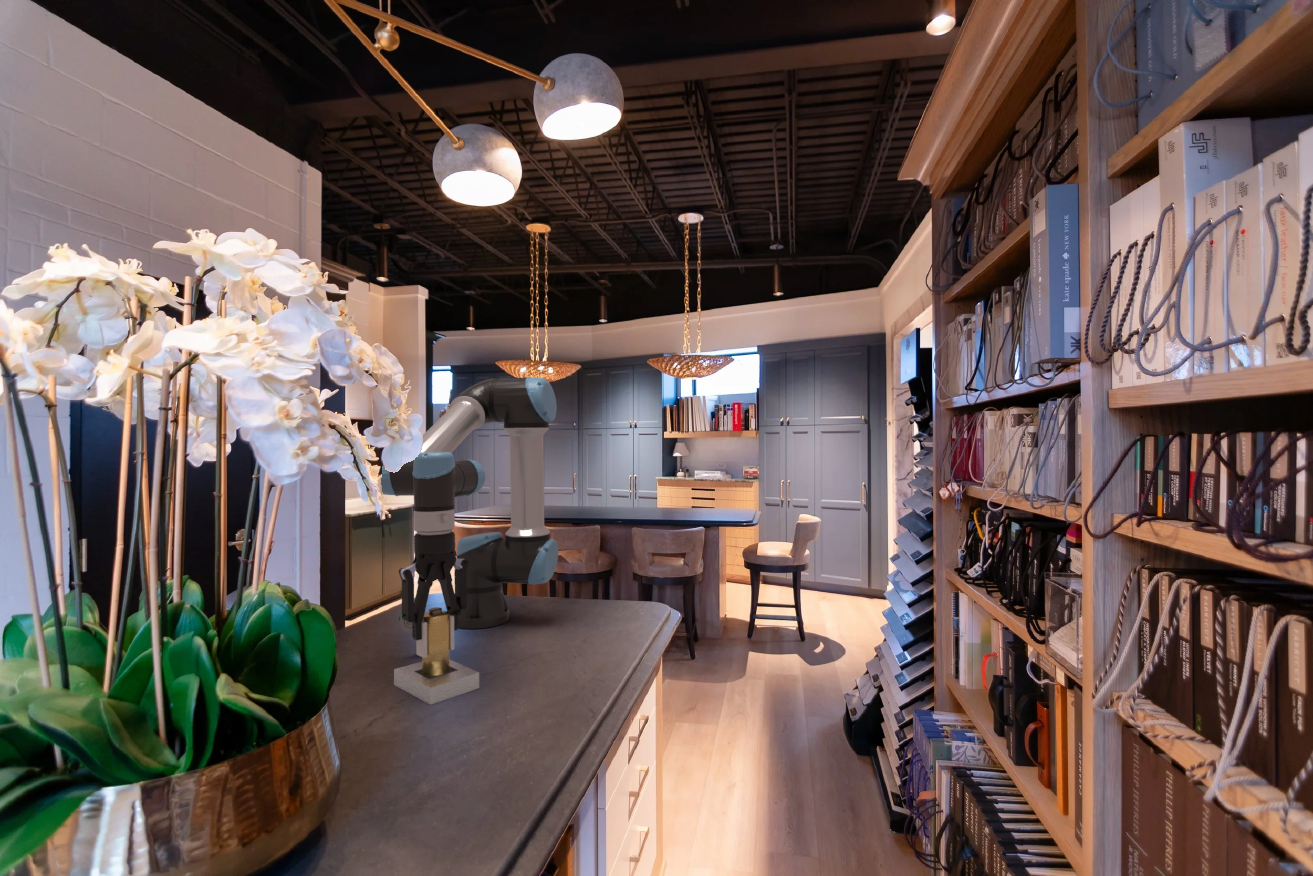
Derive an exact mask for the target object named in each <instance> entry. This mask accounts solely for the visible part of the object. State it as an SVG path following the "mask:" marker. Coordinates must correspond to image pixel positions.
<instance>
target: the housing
mask: <svg viewBox="0 0 1313 876" xmlns="http://www.w3.org/2000/svg"><path fill="white" fill-rule="evenodd" d="M393 686H395V687H396V688H399V689H400V690H402V691H404V692H406V693H408V694H410V695H412V696H413V697H415V698H417V699H419V700H421V701H422V702H425V703H426V704H427V705H431V706H432V705H435V704H437V703H440V702H443V701H446V700H449V699H453V698H455V697H457V696H461V695H464V694H466V693H470V692H473V691H475V690H478V689H480V672H479V671H477V670H475V669H473V668H471V667H467V666H465V665H464V664H461V663H459V662H456V661H454V660H452V659H450V658H449V671H448V672H446V673H444V674H441V675H436V676H427V675H424V674H422V660H421V661H419V662H415V663H412V664H411V663H410V664H409V665H405V666H401V667H396V668H394V669H393Z"/></svg>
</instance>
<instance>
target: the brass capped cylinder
mask: <svg viewBox="0 0 1313 876" xmlns="http://www.w3.org/2000/svg"><path fill="white" fill-rule="evenodd" d="M423 621H424V622H427V657H425V658H423V657H421V661H422V674H424V675H427V676H436V675H441V674H444V673H446V672H448V671H449V659H450V649H449V612H447V610H443V607H438V606H437V607H436V606H435V607H430V608H429V609H428V611H427V612H426V611H425V614H424V618H423Z"/></svg>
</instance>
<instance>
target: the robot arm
mask: <svg viewBox="0 0 1313 876" xmlns="http://www.w3.org/2000/svg"><path fill="white" fill-rule="evenodd" d="M557 405H558V404H557V399H556V395H555V392H554V389H553V387H552V385H551V384H550V382H549V380H547V379H546V378H543V377H533V376H529V377H528V376H525V377H507V378H506V377H505V378H498V377H497V378H489V379H485V380H482V381H479V382H477V383H476V384H474V385H471V386H470V387H468V388H466V389H465V390H464V391H462V392H461V393H459V394H458V395H457V396H456V397H455V398H454V399H453V400H452V401H451V402H450V404H449V409H448V410H447V411H446V412H445V413H444V414H443V415H442V416H441V417H439V419H438V420H437V421H436V422H434V423H433V425H432V426H431V427H429V428H428V430H427V431H425V433H423V434H422V435H423V446H422V450H421V452H420V454H419V455H418V457H416V458H415V460H413V461H411V462H408V463H406V464H404V465H403V466H402V467H401V469H400V470H399V471H398V472H395V473H393V472H389V471H387V470H385V468H384V467H383V466H382V478H381V485H382V492H383V494H382V495H385V496H395V497H399V496H403V497H404V496H413V531H414V532H416V533H415V534H414V535H413V553H414V558H413V561H412V564H411V565H409V566H407V567H405V568H403V567H401V568H400V569H399V570H398V575H399V576H400V580H401V614H402V619H403V620H405V621H408V622H412V633H411V637H412V639H413V640H414V641H415V642H416V648H415V649H416V656H418V657H421V658H422V657H423V658H425V657H427V622H424V621H423V618H424V614H425V613H426V609H427V604H428V599H429V595H430V590H431V588H432V586H433V583H434V582H435V581H438V582H439V584H440V589H441V593H442V596H443V601H444V604H445V609H446V611H447V612H449V651H452V650H455V631H458V628H459V629H466V630H467V629H469V630H470V629H473V630H475V629H485V628H491V627H496V626H500V625H503V624H505V623H507V622H508V621H509V620H510V610H509V607H508V603H507V600H506V598H505V595H504V591H503V584H527V585H531V586H532V585H543V584H546V583H548V582H549V581H550V580H551V579H552V577H553V576H554V573H555V571H556V568H557V565H558V559H559V546H558V545H559V543H558V542H557V540H555V539H553V538H551V531H550V530H549V528H547V527H546V525H545V485H544V483H545V481H544V480H545V477H544V476H545V475H544V469H545V468H544V435H545V433H547V431H548V430H550V429H549V428H550V423H551V422H554V421H555V419H556V417H557V412H558V411H557V410H558V408H557ZM489 423H503V430H504V431H505V432H506V433H507V434H508V435H509V459H510V460H509V461H510V462H509V465H510V466H509V467H510V468H509V469H510V471H509V472H510V474H509V475H510V528H509V529H508V530H507V531H506V532H505V533H504V536H505V537H504V538H503V534H502V532H501V531H493V532H491V531H490V532H483V533H476V534H473V535H472V534H471V535H468V536H465V537H462V538H460V539H459V540H458V542H457V544H456V533H455V532H454V531H453V530H454V529H455V527H456V526H455V524H456V523H455V522H456V521H455V518H456V517H455V514H456V513H455V507H456V506H455V500H456V499H455V498H457V497H462V496H463V497H464V496H468V497H469V496H471V495H473V494H475V493H477V492H479V491H480V490H481V489H482V488H483V487H484V485H485V482H486V473H485V472H486V471H485V469H484V468H483V466H482V464H481V463H480V462H478V461H476V460H473V459H467V458H465V459H464V458H462V459H457V460H455V456H454V455H453V454H454V451H455V450H456V448H458V446H460V444H462V442H463V441H464V440H465V439H466V438H467V437H468V436H469V435H470V434H471V432H472V431H474V430H475V431H476V430H478V429H480V428H481V427H482V426H483V425H486V424H489ZM456 545H457V546H456ZM455 549H456V554H455ZM453 568H454V575H453V576H454V586H453V576H452V573H451V570H452V569H453ZM415 572H416V573H417V574H418V578H417V588H416V595H415V581H414V580H415V579H414V578H415V577H416V576H415Z"/></svg>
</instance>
